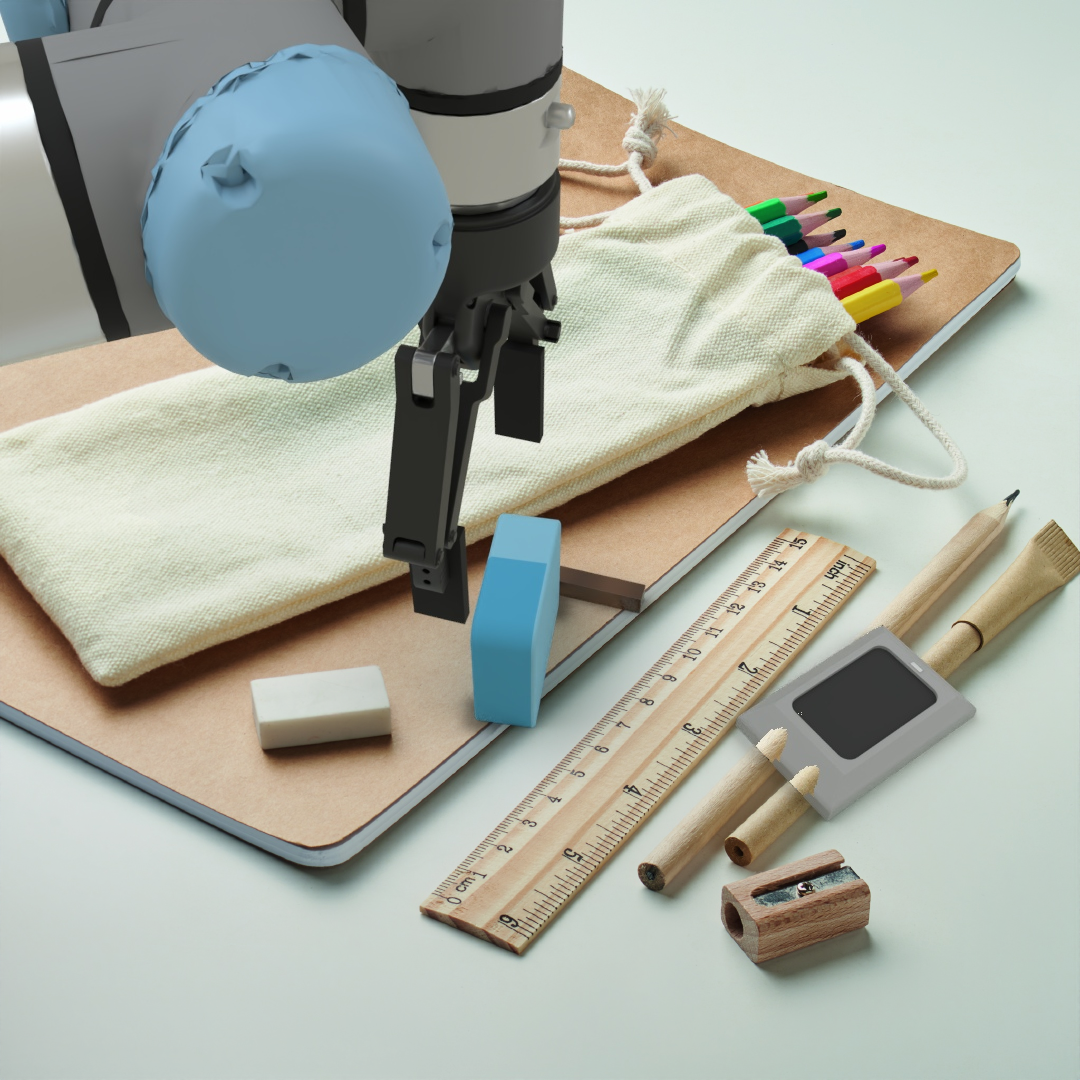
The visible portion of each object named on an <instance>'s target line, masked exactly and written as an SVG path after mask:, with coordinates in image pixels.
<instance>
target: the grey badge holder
mask: <svg viewBox="0 0 1080 1080" xmlns="http://www.w3.org/2000/svg"><path fill="white" fill-rule="evenodd" d="M882 625H883V626H881V625H880V626H881V627H879V626H877V627H878V628H877V627H875V628H876V629H875V628H873V629H871V630H872V631H871V630H869V631H868V632H869V633H868V632H867V633H868V634H867V633H865V634H863V635H864V636H863V635H862V636H861V637H859V638H857V639H855V640H854V641H853V642H851V643H849V644H848V645H847V646H844V647H843V648H841V649H840V650H839V651H837V652H835V653H833V655H830V656H829V657H828V658H826V659H825V660H823V661H821V662H820V663H819V664H817V665H815V666H814V667H812V668H810V669H809V670H807V671H806V672H804V673H803V674H801V675H800V676H798V677H796V678H795V679H794V680H792V681H791V682H789V683H788V684H785V685H784V686H783V687H781V688H780V689H778V690H776V691H775V692H774V693H772V694H770V695H769V696H767V697H765V698H764V699H763V700H761V701H759V702H758V703H756V704H754V705H753V706H752V707H750V708H748V709H747V710H745V711H744V712H742V713H741V714H740V715H738V716H737V717H736V720H735V727H736V728H737V729H738V730H739V731H740V733H742V734H743V736H745V737H746V739H747V740H748V741H749V742H750V743H751V744H752V745H753V746H754V747H755V746H756V745H757V744H758V742H760V740H761V739H762V738H763V737H764V736H765V735H766V734H767V733H768V732H769V731H770V730H771V729H773V730H775V729H777V728H778V729H779V728H781V727H783V728H782V729H787V730H786V731H787V734H788V735H787V741H786V743H785V747H784V748H783V751H782V753H781V757H780V760H779V761H780V762H779V761H778V760H777V759H775V760H774V761H773V763H770V764H771V765H772V766H773V767H774V768H775V769H776V770H777V771H778V772H779V773H780V774H781V775H782V776H783V778H785V780H786V781H788V782H789V781H790V780H792V779H793V778H794V776H795V775H796V774H798V773H799V771H800V770H802V769H804V768H805V767H806V766H808V767H809V766H814V765H817V766H816V767H818V768H819V769H820V771H818V772H819V777H818V780H817V785H815V788H814V793H813V796H814V797H813V796H812V795H811V794H810V793H809V792H808V793H807V794H805V796H802V798H804V799H805V800H806V802H807V803H808V804H810V806H811V807H812V808H813V809H814V810H815V811H816V812H817V813H818V815H820V816H821V817H822V818H823V819H824V820H825V821H826V822H829V821H830V820H831V819H833V818H834V817H836V816H837V815H839V814H840V813H841V812H843V811H844V810H845V809H847V808H848V807H850V806H851V805H852V804H854V803H855V802H856V801H858V800H859V799H861V798H862V797H864V796H865V795H866V794H868V793H869V792H870V791H872V790H874V789H875V788H876V787H877V786H879V785H881V784H882V783H883V782H884V781H886V780H887V779H889V778H890V777H892V776H893V775H894V774H896V773H897V772H898V771H900V770H901V769H902V768H904V767H905V766H907V765H908V764H910V763H911V762H912V761H913V760H915V759H916V758H918V757H919V756H922V754H924V753H925V752H927V750H929V749H930V748H932V747H933V746H935V745H936V744H937V743H939V742H940V741H942V740H943V739H944V738H946V737H948V736H949V735H950V734H951V733H953V732H954V731H956V730H957V729H959V728H960V727H961V726H963V725H964V724H965V723H967V722H968V721H970V720H972V718H974V717H975V715H976V713H977V707H976V706H975V705H973V704H972V703H971V701H969V700H968V699H967V698H966V697H965V696H963V694H961V693H960V692H959V690H957V689H955V688H954V687H953V686H952V685H951V684H950V683H949V682H948V681H947V680H946V679H945V678H943V677H942V676H941V675H940V674H939V673H938V672H936V671H935V670H934V669H933V668H932V667H931V666H930V665H929V664H927V662H925V661H924V660H923V659H922V658H921V657H920V656H919V655H918V654H916V653H915V652H914V651H913V650H912V649H911V648H909V647H908V646H907V645H906V644H905V643H904V642H903V641H902V640H901V639H900V638H899V637H898V636H896V634H894V633H893V632H892V631H891V630H889V629H888V628H887V627H886V626H885V624H882ZM801 712H802V713H801ZM798 713H799V714H798ZM801 714H802V715H801Z"/></svg>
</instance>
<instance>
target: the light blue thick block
mask: <svg viewBox="0 0 1080 1080" xmlns="http://www.w3.org/2000/svg"><path fill="white" fill-rule="evenodd" d="M491 541H492V542H491V546H490V550H489V553H488V557H487V561H486V565H485V569H484V573H483V577H482V581H481V585H480V590H479V593H478V597H477V601H476V605H475V608H474V612H473V616H472V623H471V629H470V657H471V670H472V671H471V675H472V689H473V706H474V707H473V709H474V718H475V720H477V721H482V722H487V723H488V722H489V723H493V724H494V723H495V724H500V725H501V724H502V725H509V726H514V727H515V726H517V727H522V728H523V727H524V728H530V729H534V728H535V727H536V725H537V720H538V715H539V711H540V710H539V709H540V706H541V705H540V704H541V699H542V694H543V690H544V684H545V680H546V679H545V678H546V673H547V669H548V662H549V659H550V653H551V648H552V643H553V637H554V631H555V628H556V627H555V626H556V622H557V615H558V610H559V606H560V595H559V581H560V566H561V548H562V547H561V543H562V542H561V541H562V523H561V521H560V520H559V519H555V518H554V519H553V518H546V517H538V516H528V515H521V514H513V513H505V512H503V513H501V514H499V516H498V518H497V521H496V525H495V529H494V533H493V537H492V540H491Z"/></svg>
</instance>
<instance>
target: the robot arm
mask: <svg viewBox="0 0 1080 1080" xmlns="http://www.w3.org/2000/svg"><path fill="white" fill-rule="evenodd" d="M564 7H565V0H0V17H1V20H2V23H3V26H4V28H5V32H6V35H7V38H8V41H6V42H0V368H1V367H5V366H11V365H15V364H19V363H23V362H27V361H31V360H36V359H40V358H45V357H49V356H50V357H51V356H54V355H58V354H63V353H67V352H71V351H75V350H80V349H85V348H89V347H93V346H97V345H101V344H106V343H111V342H115V341H120V340H124V339H129V338H134V337H139V336H144V335H150V334H155V333H156V334H157V333H159V332H165V331H168V330H172V329H173V330H174V329H177V331H178V332H179V334H180V335H181V336H182V337H183V339H185V340H186V342H187V343H189V345H190V346H191V347H192V348H193V349H194V350H195V351H196V352H197V353H199V354H200V355H201V356H202V357H204V358H205V359H207V360H208V361H210V362H211V363H213V364H214V365H216V366H218V367H219V368H221V369H224V370H226V371H228V372H230V373H233V374H235V375H239V376H244V377H247V378H251V377H258V378H263V379H269V380H270V379H271V380H283V381H284V382H286V383H288V384H308V383H315V382H321V381H325V380H329V379H333V378H336V377H339V376H344V375H345V374H348V373H351V372H353V371H356V370H358V369H361V368H362V367H365V366H366V365H367V364H369V363H370V362H373V361H374V360H376V359H377V358H379V357H380V356H382V355H384V354H385V353H386V352H388V351H390V350H391V349H392V348H394V347H395V346H396V345H397V344H399V343H400V342H401V341H402V340H403V339H405V338H406V337H407V336H408V335H409V333H410V332H411V331H412V330H413V329H415V327H416V326H418V328H419V332H420V333H419V339H418V344H417V346H415V345H408V344H403V343H400V345H399V346H398V347H397V350H396V352H395V354H394V357H393V362H394V384H395V385H394V386H395V407H394V417H393V418H394V420H393V429H392V430H393V431H392V439H391V440H392V441H391V451H390V464H389V474H388V484H387V485H388V486H387V499H386V509H385V517H384V518H385V519H384V522H383V523H382V528H381V529H382V534H383V541H382V545H381V546H382V548H381V549H382V556H383V558H385V559H389V560H395V561H398V562H402V563H406V564H407V563H408V570H409V577H410V579H409V580H410V587H411V595H412V605H413V613H414V614H419V615H424V616H428V617H432V618H436V619H441V620H444V621H449V622H453V623H457V624H461V625H466V623H467V621H468V618H469V616H470V612H471V611H470V596H469V595H470V594H469V577H468V556H467V540H466V527H465V526H464V525H460V524H459V520H460V514H461V508H462V503H463V497H464V493H465V492H464V491H465V486H466V480H467V475H468V470H469V463H470V459H471V453H472V448H473V442H474V435H475V430H476V425H477V420H478V415H479V414H478V413H479V408H480V405H481V403H483V402H485V401H487V400H489V399H490V397H492V395H493V410H494V411H493V412H494V413H493V415H494V416H493V417H494V435H495V436H496V435H497V436H501V437H505V438H511V439H515V440H520V441H526V442H530V443H535V444H541V442H542V440H543V437H544V432H545V431H544V426H545V425H544V424H545V358H546V346H543V345H539V344H540V342H539V341H541V342H547V343H550V344H551V343H552V344H558V342H559V340H560V338H561V334H562V321H561V320H554V319H550V318H547V316H546V315H545V314H544V313H545V311H548V312H553V311H554V310H555V307H556V306H557V304H558V301H559V297H558V290H557V285H556V281H555V276H554V272H553V268H552V263H551V262H552V261H553V259H554V258H555V256H556V253H557V251H558V248H559V245H560V235H561V233H560V231H561V195H562V194H561V191H562V179H561V178H562V177H561V174H560V170H559V168H558V166H559V163H560V158H561V143H562V142H561V141H562V140H561V138H562V136H561V135H562V131H565V130H566V131H567V130H569V129H571V128H572V127H573V126H574V125H575V120H576V116H577V115H576V111H575V108H574V106H573V104H570V103H565V102H561V88H562V85H563V66H564V64H563V63H564V46H563V37H564ZM461 369H463V370H466V371H467V370H468V371H477V377H476V379H475V380H473V381H471V380H465V379H464V373H463V372H462V371H461Z"/></svg>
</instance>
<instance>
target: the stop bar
mask: <svg viewBox="0 0 1080 1080" xmlns="http://www.w3.org/2000/svg"><path fill="white" fill-rule="evenodd" d="M645 593H646V584H643V583H639V582H634V581H630V580H626V579H622V578H617V577H612V576H607V575H604V574H599V573H595V572H590V571H587V570H586V571H585V570H581V569H576V568H574V567H573V568H572V567H568V566H565V565H564V566H563V565H560V581H559V596H562V597H566V598H570V599H574V600H579V601H583V602H587V603H591V604H596V605H601V606H605V607H609V608H614V609H618V610H621V611H627V612H631V613H636V614H640V613H641V610H642V608H643V603H644V601H645Z"/></svg>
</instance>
